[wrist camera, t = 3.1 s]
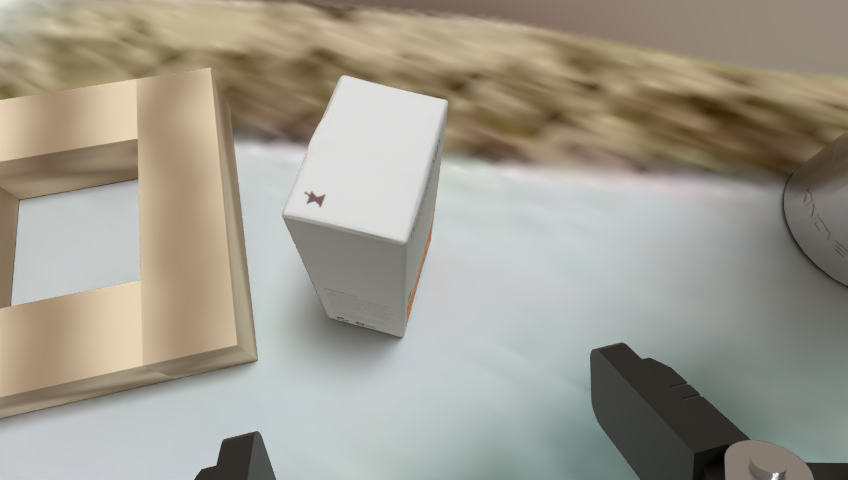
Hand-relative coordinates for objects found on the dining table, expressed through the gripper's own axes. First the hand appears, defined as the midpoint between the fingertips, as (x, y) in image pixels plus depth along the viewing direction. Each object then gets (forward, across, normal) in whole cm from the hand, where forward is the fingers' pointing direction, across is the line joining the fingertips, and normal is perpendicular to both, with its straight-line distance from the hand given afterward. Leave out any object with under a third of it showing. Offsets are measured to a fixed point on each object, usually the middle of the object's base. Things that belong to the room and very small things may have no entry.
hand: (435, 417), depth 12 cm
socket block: (+19, +15, 0) cm, 24 cm away
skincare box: (+16, 0, +4) cm, 16 cm away
